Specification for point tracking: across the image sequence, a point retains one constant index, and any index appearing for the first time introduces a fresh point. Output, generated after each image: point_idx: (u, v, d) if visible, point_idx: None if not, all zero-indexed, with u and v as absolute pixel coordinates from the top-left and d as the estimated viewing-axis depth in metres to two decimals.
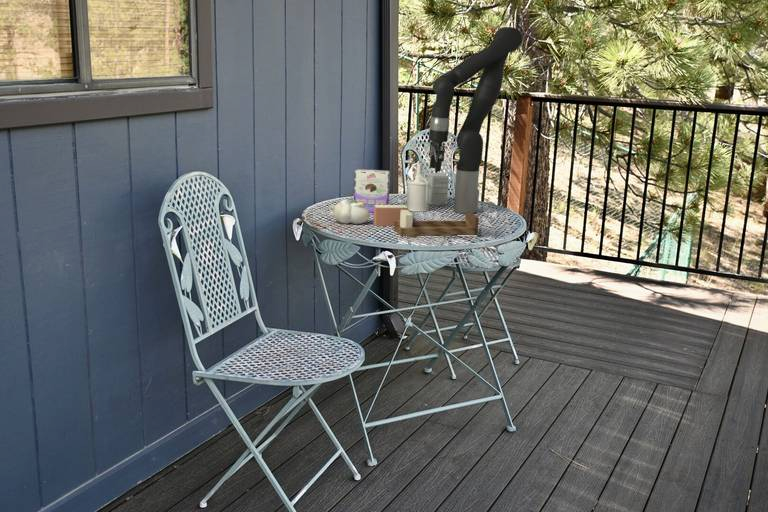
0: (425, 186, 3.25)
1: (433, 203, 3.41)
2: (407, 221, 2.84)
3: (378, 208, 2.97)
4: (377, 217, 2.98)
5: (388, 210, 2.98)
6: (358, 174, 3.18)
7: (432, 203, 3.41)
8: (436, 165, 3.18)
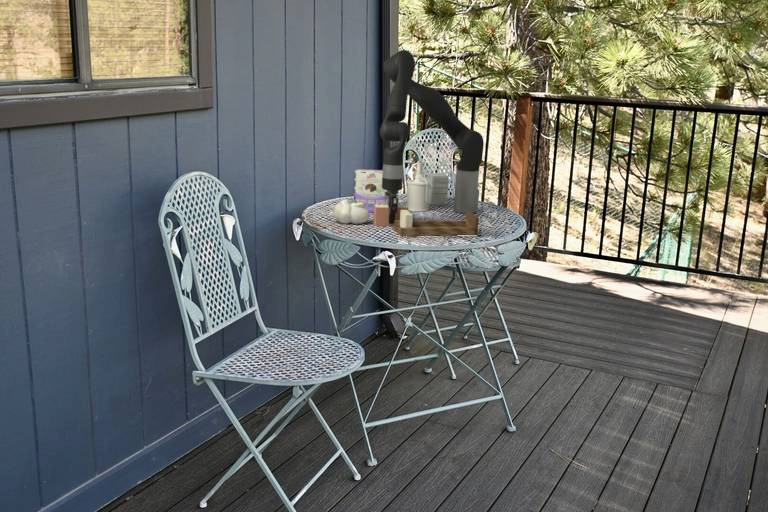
0: (425, 186, 3.25)
1: (433, 203, 3.41)
2: (407, 221, 2.84)
3: (378, 208, 2.97)
4: (377, 217, 2.98)
5: (388, 209, 2.98)
6: (358, 174, 3.18)
7: (432, 203, 3.41)
8: (389, 217, 2.98)
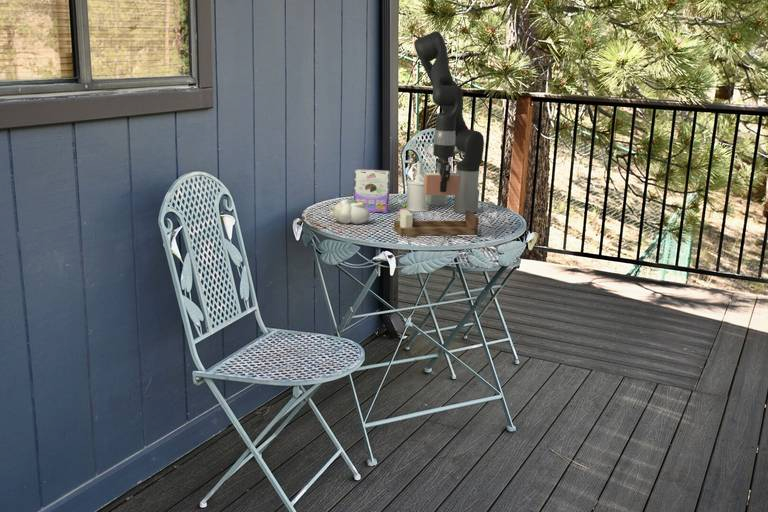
0: None
1: (433, 203, 3.41)
2: (407, 221, 2.84)
3: (429, 175, 2.86)
4: (428, 185, 2.87)
5: (440, 177, 2.87)
6: (358, 174, 3.18)
7: (432, 203, 3.41)
8: (441, 185, 2.87)
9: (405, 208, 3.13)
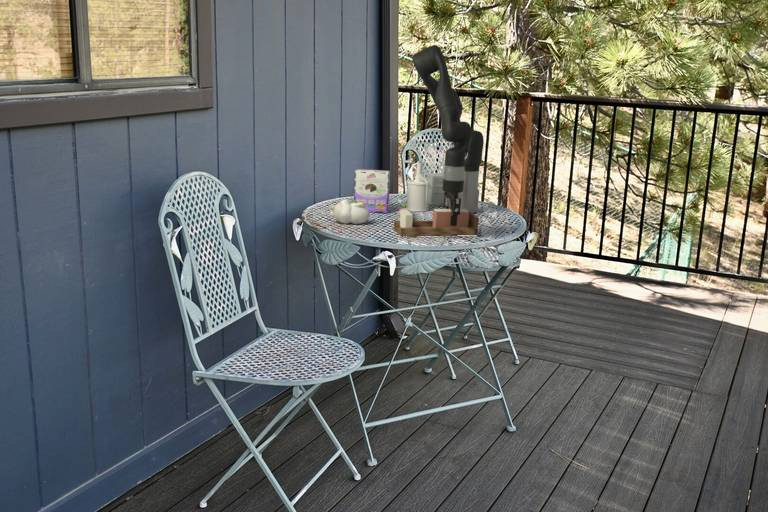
0: (425, 186, 3.25)
1: (433, 203, 3.41)
2: (407, 221, 2.84)
3: (438, 212, 2.88)
4: (437, 221, 2.89)
5: (449, 214, 2.89)
6: (358, 174, 3.18)
7: (432, 203, 3.41)
8: (451, 219, 2.87)
9: (405, 208, 3.13)
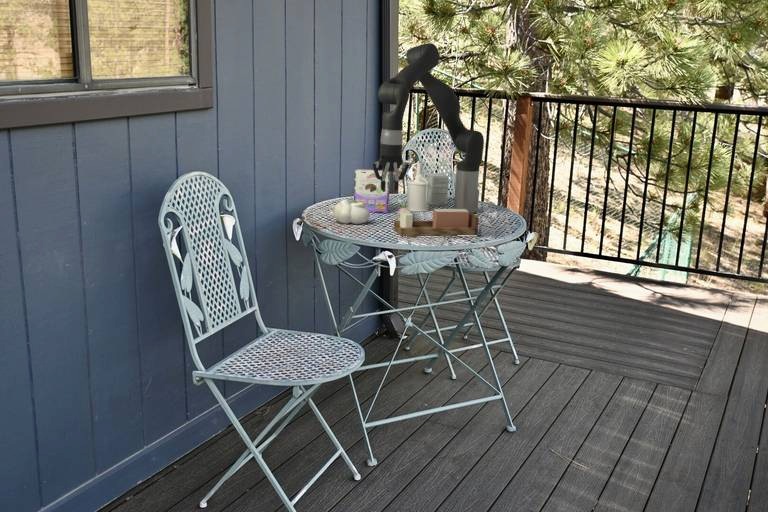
0: (425, 186, 3.25)
1: (433, 203, 3.41)
2: (407, 221, 2.84)
3: (438, 212, 2.88)
4: (437, 221, 2.89)
5: (449, 214, 2.89)
6: (358, 174, 3.18)
7: (432, 203, 3.41)
8: None
9: (405, 207, 3.14)
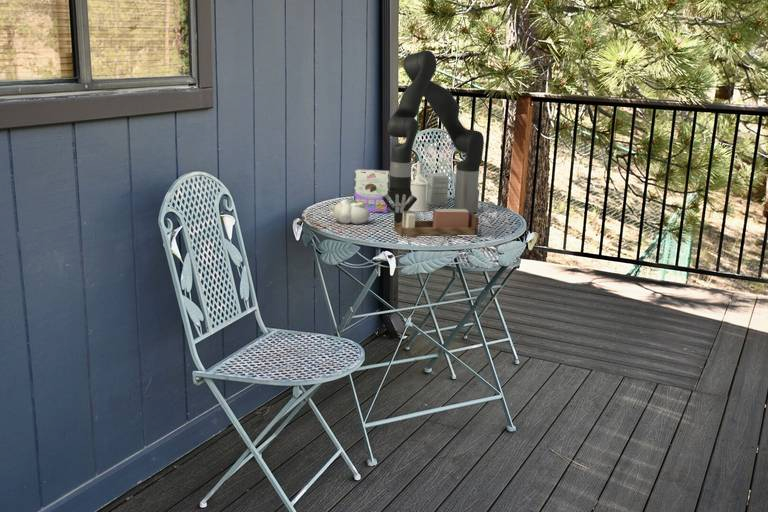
0: (425, 186, 3.25)
1: (433, 203, 3.41)
2: (410, 221, 2.84)
3: (438, 212, 2.88)
4: (437, 221, 2.89)
5: (449, 214, 2.89)
6: (358, 174, 3.18)
7: (432, 203, 3.41)
8: None
9: None
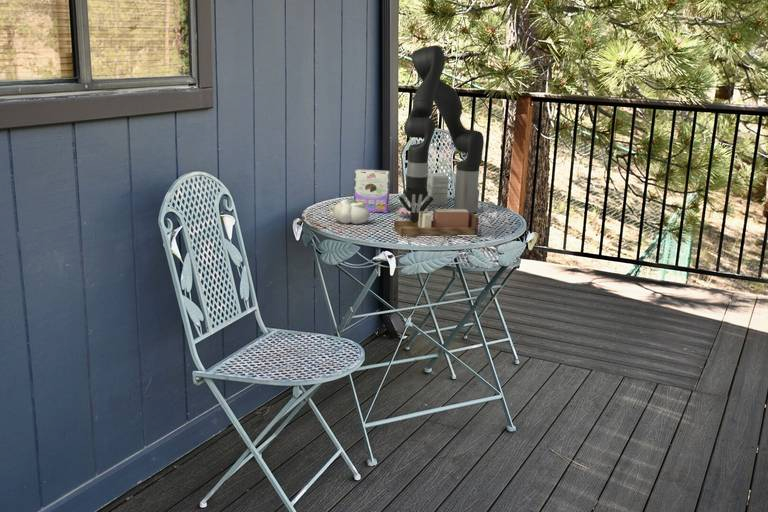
0: None
1: (433, 203, 3.41)
2: (426, 221, 2.85)
3: (438, 212, 2.88)
4: (437, 221, 2.89)
5: (449, 214, 2.89)
6: (358, 174, 3.18)
7: (432, 203, 3.41)
8: None
9: None
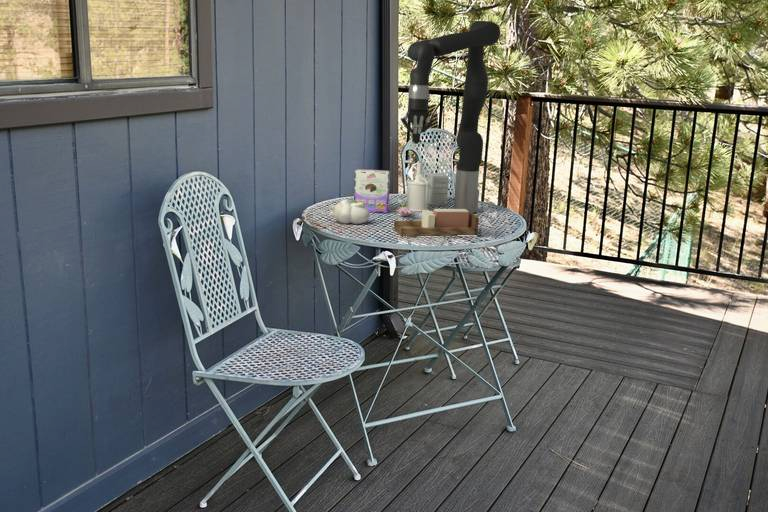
0: (425, 186, 3.25)
1: (433, 203, 3.41)
2: (429, 221, 2.86)
3: (438, 212, 2.88)
4: (437, 221, 2.89)
5: (449, 214, 2.89)
6: (358, 174, 3.18)
7: (432, 203, 3.41)
8: None
9: (405, 206, 3.16)
